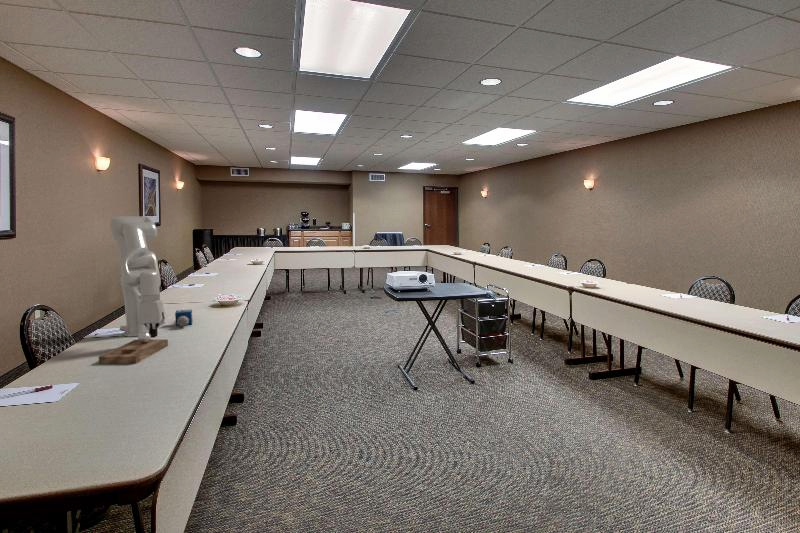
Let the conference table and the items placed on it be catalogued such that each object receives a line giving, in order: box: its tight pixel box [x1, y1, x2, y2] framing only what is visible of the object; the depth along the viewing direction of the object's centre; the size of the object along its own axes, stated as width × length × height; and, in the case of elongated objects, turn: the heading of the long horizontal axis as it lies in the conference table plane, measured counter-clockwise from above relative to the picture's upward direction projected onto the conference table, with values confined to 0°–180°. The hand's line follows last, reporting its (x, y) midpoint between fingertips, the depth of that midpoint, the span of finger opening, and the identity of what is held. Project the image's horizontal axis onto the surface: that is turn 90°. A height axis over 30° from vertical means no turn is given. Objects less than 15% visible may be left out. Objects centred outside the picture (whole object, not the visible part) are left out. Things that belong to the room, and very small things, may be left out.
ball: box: [137, 332, 152, 343], centre depth 191 cm, size 5×5×5 cm
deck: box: [98, 339, 169, 365], centre depth 184 cm, size 15×24×3 cm, turn 0°
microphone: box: [174, 309, 193, 328], centre depth 237 cm, size 8×8×25 cm
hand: (153, 336), depth 198 cm, fingers closed
